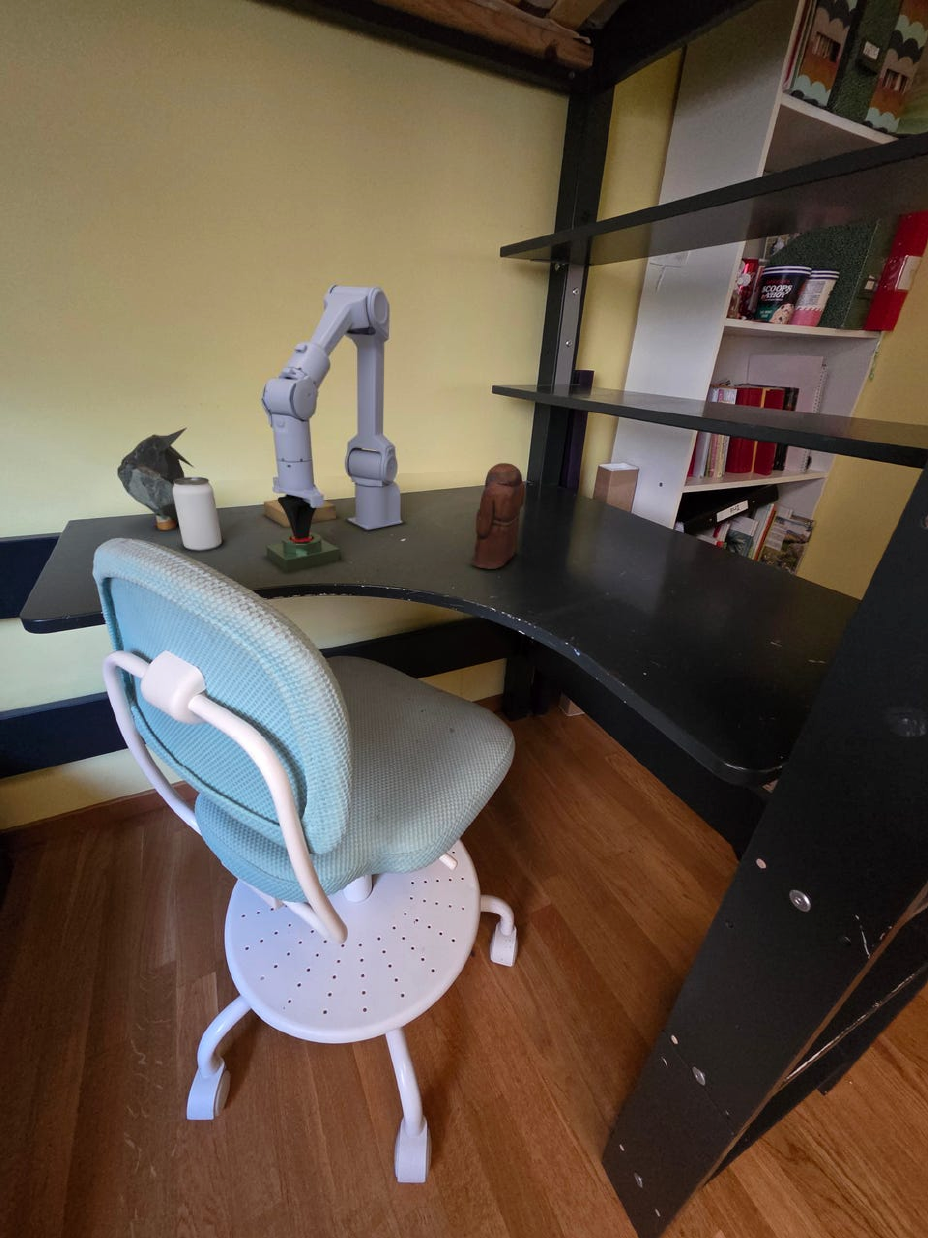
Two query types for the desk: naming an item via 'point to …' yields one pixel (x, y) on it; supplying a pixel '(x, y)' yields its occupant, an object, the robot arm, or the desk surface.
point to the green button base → (302, 553)
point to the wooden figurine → (499, 516)
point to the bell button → (301, 539)
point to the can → (197, 513)
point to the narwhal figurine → (154, 476)
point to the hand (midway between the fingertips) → (301, 537)
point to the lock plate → (279, 515)
